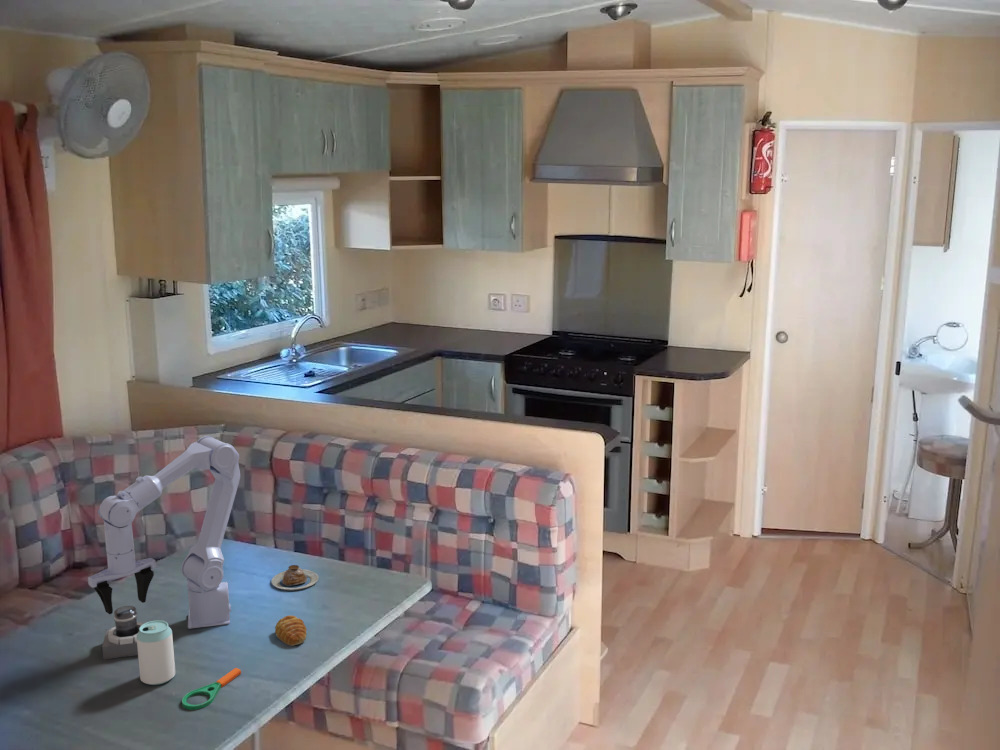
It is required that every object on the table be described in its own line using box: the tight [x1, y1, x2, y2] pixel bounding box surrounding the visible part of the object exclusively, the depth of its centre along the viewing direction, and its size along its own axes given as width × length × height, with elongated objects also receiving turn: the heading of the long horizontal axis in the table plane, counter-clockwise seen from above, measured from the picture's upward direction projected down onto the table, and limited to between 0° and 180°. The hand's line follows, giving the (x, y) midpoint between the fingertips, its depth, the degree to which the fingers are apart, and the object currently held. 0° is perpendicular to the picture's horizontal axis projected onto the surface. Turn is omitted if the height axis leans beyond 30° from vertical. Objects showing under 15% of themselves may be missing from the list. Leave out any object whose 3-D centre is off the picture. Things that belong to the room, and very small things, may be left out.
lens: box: [113, 605, 138, 637], centre depth 217 cm, size 5×5×6 cm
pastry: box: [274, 614, 308, 647], centre depth 222 cm, size 9×7×4 cm
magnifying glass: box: [181, 667, 242, 711], centre depth 201 cm, size 15×6×2 cm, turn 153°
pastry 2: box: [270, 564, 319, 592], centre depth 251 cm, size 12×12×5 cm
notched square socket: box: [101, 621, 144, 660], centre depth 218 cm, size 10×8×4 cm
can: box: [137, 620, 176, 686], centre depth 204 cm, size 7×7×12 cm
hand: (125, 606), depth 216 cm, fingers open, 7 cm apart
